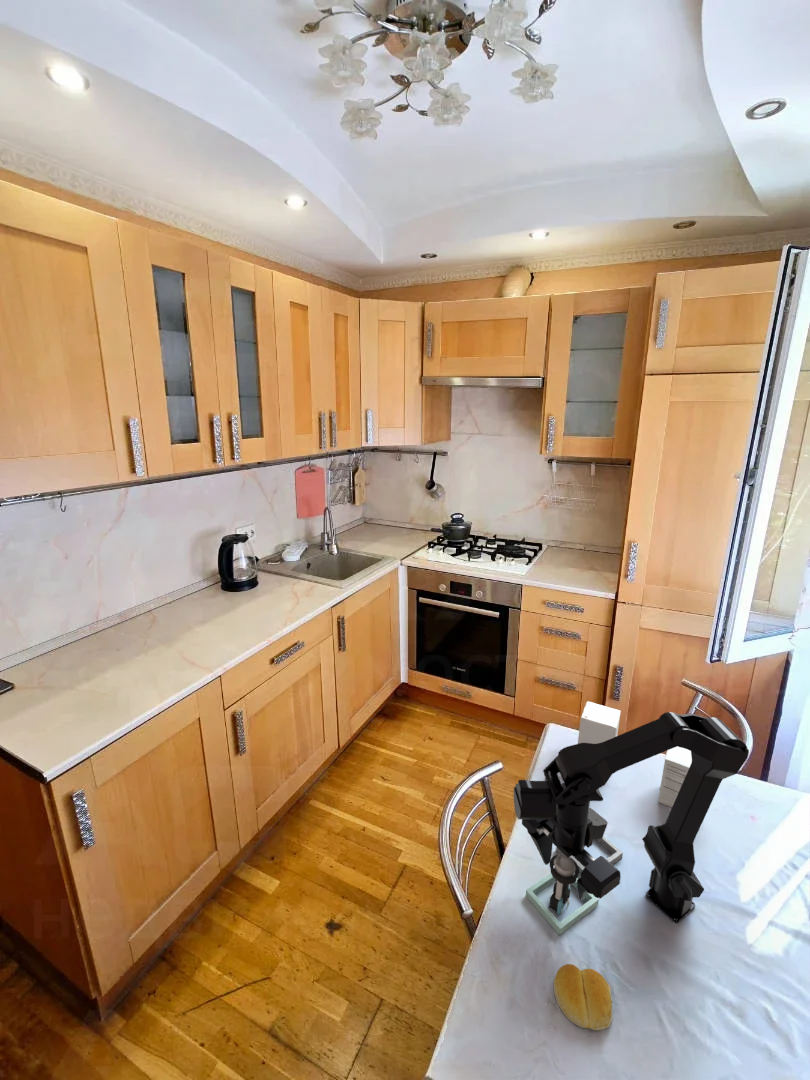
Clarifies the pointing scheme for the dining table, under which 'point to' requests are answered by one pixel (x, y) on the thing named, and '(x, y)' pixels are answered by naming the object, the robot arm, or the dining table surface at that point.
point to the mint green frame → (557, 925)
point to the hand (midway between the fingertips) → (563, 880)
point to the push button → (562, 880)
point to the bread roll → (584, 997)
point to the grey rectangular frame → (607, 844)
